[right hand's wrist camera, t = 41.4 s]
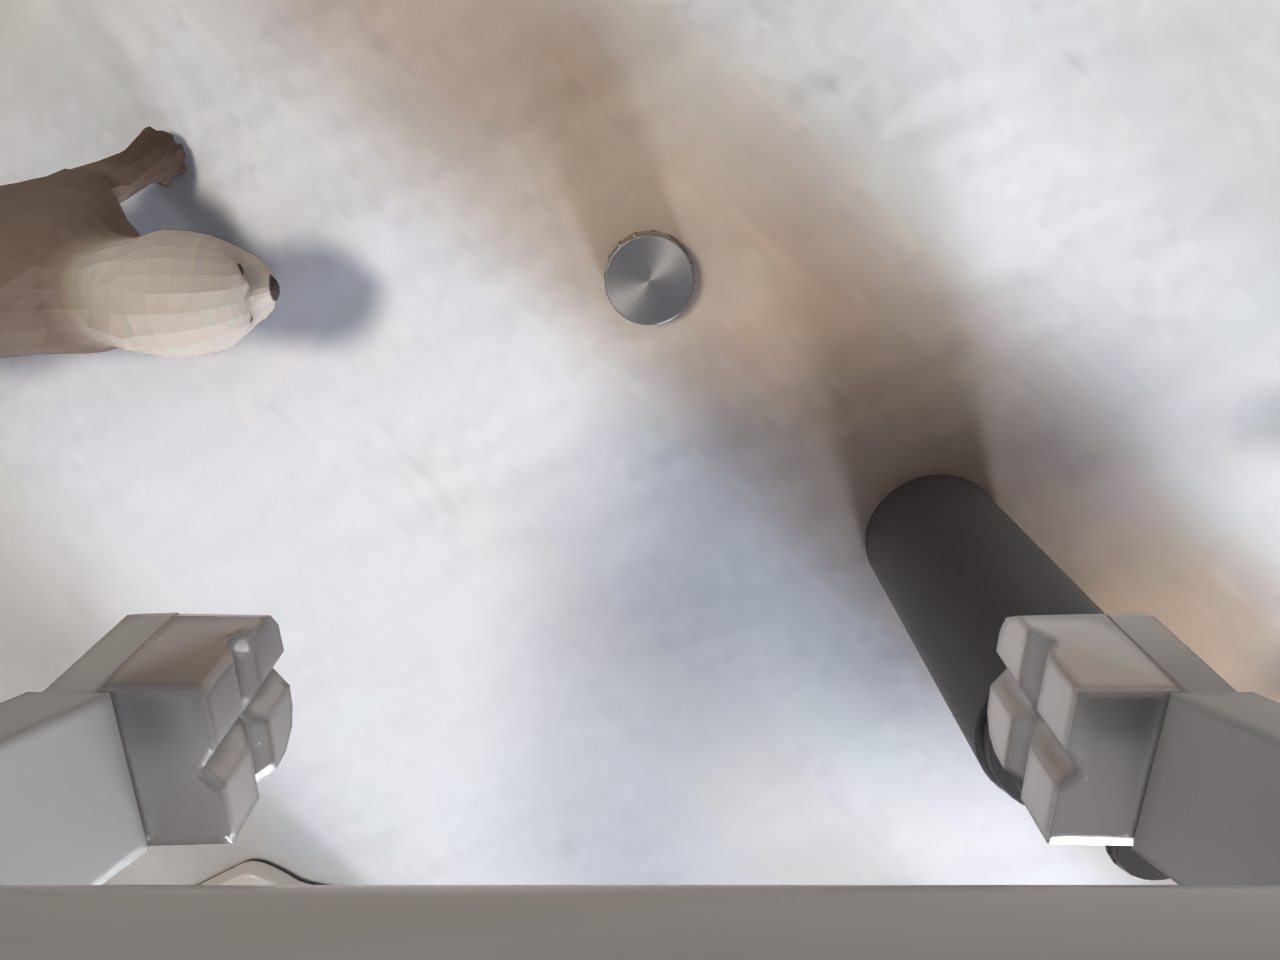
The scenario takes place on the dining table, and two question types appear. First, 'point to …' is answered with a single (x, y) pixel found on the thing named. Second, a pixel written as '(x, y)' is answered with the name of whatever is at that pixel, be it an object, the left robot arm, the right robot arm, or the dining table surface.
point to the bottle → (970, 602)
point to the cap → (649, 278)
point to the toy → (119, 266)
